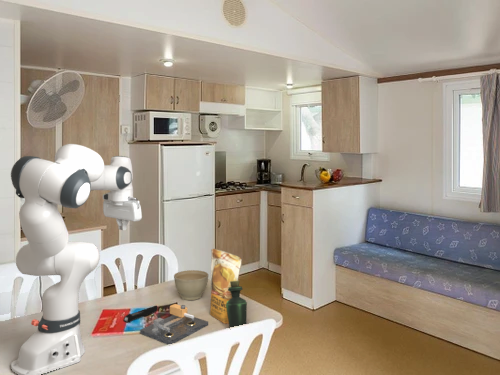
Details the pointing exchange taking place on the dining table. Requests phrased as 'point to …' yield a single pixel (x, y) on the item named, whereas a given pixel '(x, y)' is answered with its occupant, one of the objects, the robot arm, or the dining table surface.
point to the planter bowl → (191, 283)
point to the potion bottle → (236, 306)
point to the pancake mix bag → (222, 281)
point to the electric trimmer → (140, 314)
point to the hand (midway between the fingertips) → (122, 229)
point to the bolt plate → (173, 328)
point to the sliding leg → (180, 311)
